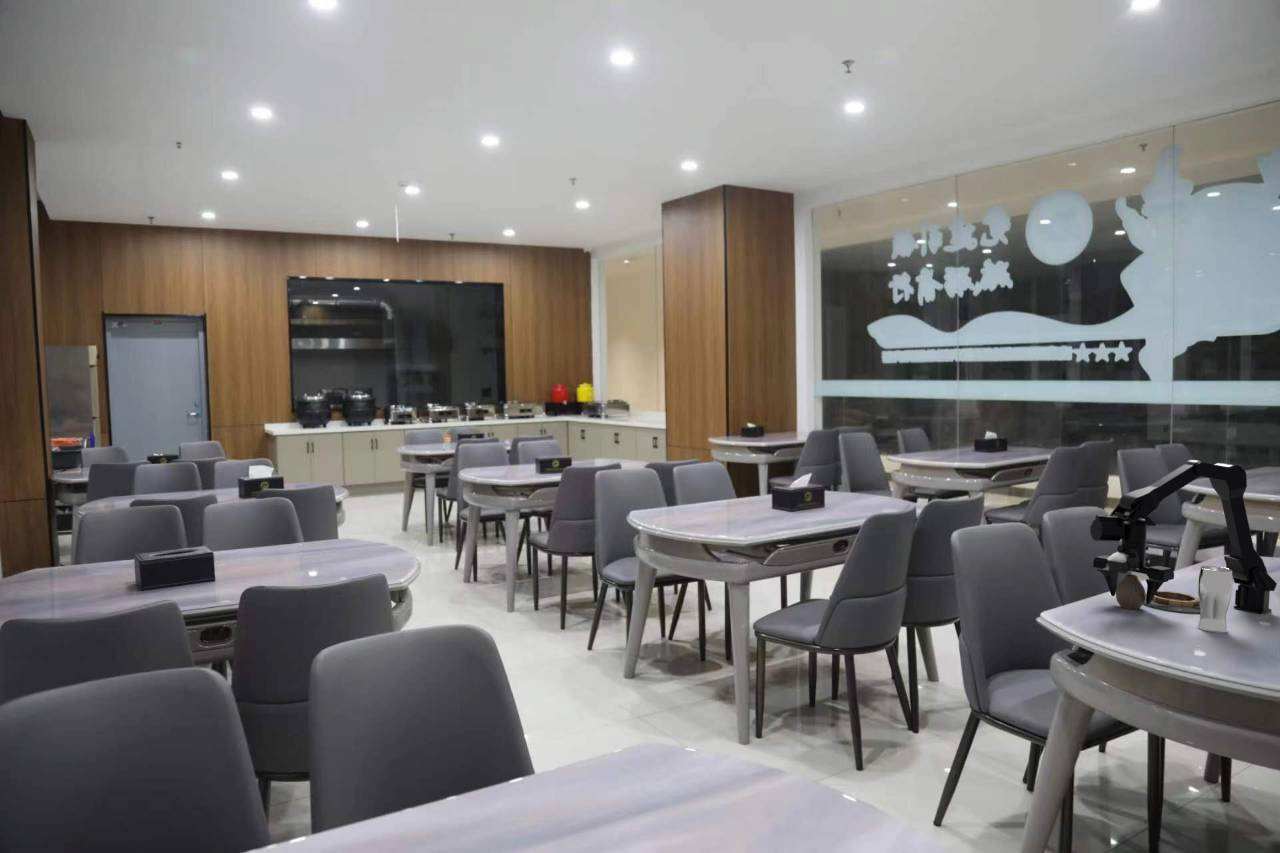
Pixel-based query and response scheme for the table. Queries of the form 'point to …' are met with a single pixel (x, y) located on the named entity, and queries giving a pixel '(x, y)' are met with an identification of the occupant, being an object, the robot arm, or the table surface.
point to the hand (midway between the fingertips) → (1130, 599)
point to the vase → (1130, 592)
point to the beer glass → (1214, 597)
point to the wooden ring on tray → (1175, 602)
